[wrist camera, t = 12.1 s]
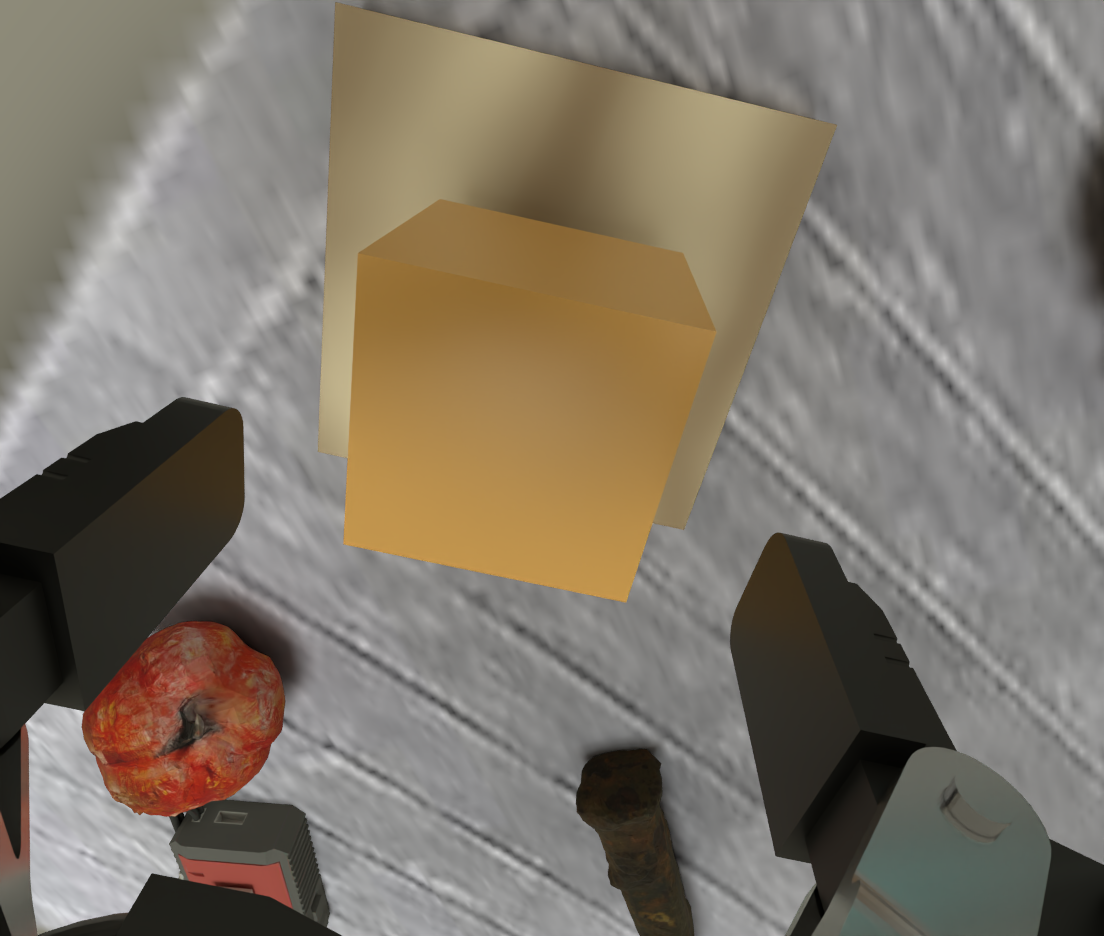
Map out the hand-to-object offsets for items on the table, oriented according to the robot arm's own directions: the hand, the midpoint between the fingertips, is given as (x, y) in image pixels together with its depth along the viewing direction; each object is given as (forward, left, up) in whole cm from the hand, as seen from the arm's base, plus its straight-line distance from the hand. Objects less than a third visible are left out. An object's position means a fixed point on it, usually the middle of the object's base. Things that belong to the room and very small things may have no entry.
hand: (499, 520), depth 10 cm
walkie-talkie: (+10, +40, -14) cm, 44 cm away
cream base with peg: (0, 0, -13) cm, 13 cm away
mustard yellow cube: (0, 0, -9) cm, 9 cm away
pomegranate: (+11, +20, -14) cm, 27 cm away
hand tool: (-12, +29, -14) cm, 35 cm away
